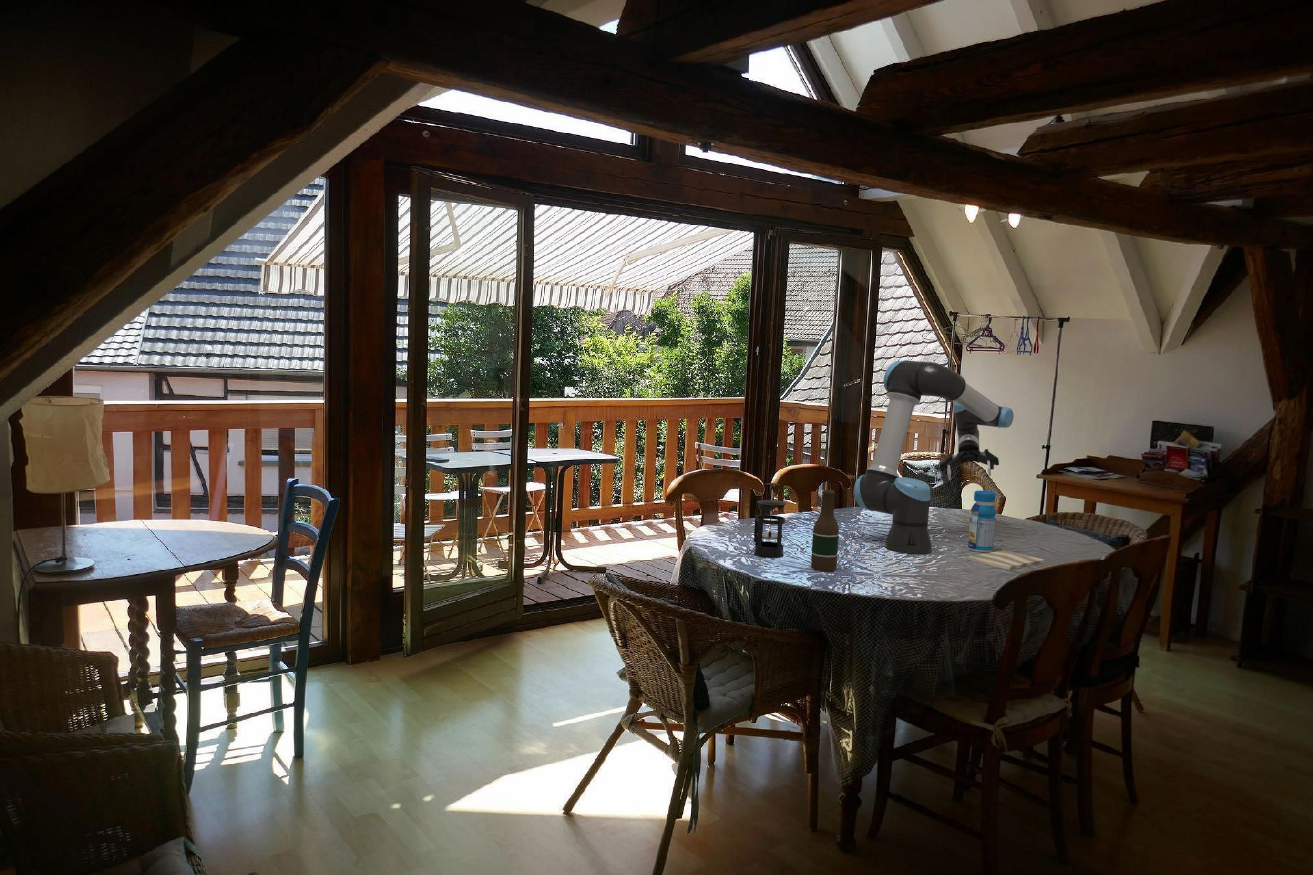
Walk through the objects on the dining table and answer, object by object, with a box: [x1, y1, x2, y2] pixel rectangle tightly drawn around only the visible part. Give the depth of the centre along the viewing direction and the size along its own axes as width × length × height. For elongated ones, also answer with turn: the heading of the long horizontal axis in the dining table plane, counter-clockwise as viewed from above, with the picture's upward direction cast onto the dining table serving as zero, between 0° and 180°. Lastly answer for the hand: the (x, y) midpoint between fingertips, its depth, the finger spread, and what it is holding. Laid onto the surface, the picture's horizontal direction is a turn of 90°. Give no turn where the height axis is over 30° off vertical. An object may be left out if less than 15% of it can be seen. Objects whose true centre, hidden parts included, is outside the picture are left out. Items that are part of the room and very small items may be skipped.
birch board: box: [966, 550, 1045, 571], centre depth 309 cm, size 20×15×1 cm
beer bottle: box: [810, 489, 840, 573], centre depth 287 cm, size 8×8×24 cm
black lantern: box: [753, 482, 787, 559], centre depth 303 cm, size 12×9×23 cm
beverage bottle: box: [967, 490, 997, 553], centre depth 323 cm, size 8×8×20 cm
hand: (969, 474), depth 336 cm, fingers open, 13 cm apart
